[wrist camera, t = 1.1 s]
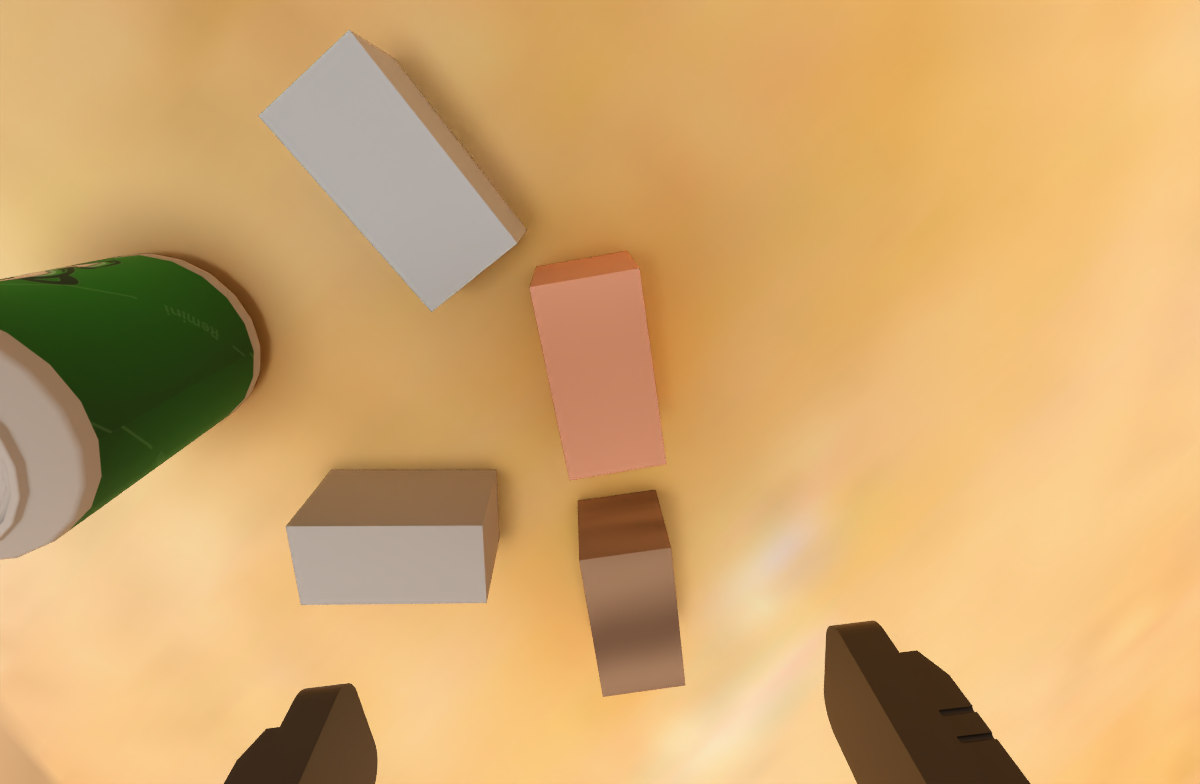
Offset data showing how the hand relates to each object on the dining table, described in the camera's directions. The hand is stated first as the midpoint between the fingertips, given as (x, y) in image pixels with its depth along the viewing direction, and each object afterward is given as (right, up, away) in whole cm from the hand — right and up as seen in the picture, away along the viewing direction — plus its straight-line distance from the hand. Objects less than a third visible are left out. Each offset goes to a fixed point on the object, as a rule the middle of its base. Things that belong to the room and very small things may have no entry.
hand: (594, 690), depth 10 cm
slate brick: (-9, -1, +20) cm, 22 cm away
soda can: (-18, +8, +16) cm, 25 cm away
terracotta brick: (0, +7, +17) cm, 19 cm away
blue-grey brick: (-7, +14, +14) cm, 21 cm away
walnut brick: (+1, -4, +21) cm, 22 cm away
